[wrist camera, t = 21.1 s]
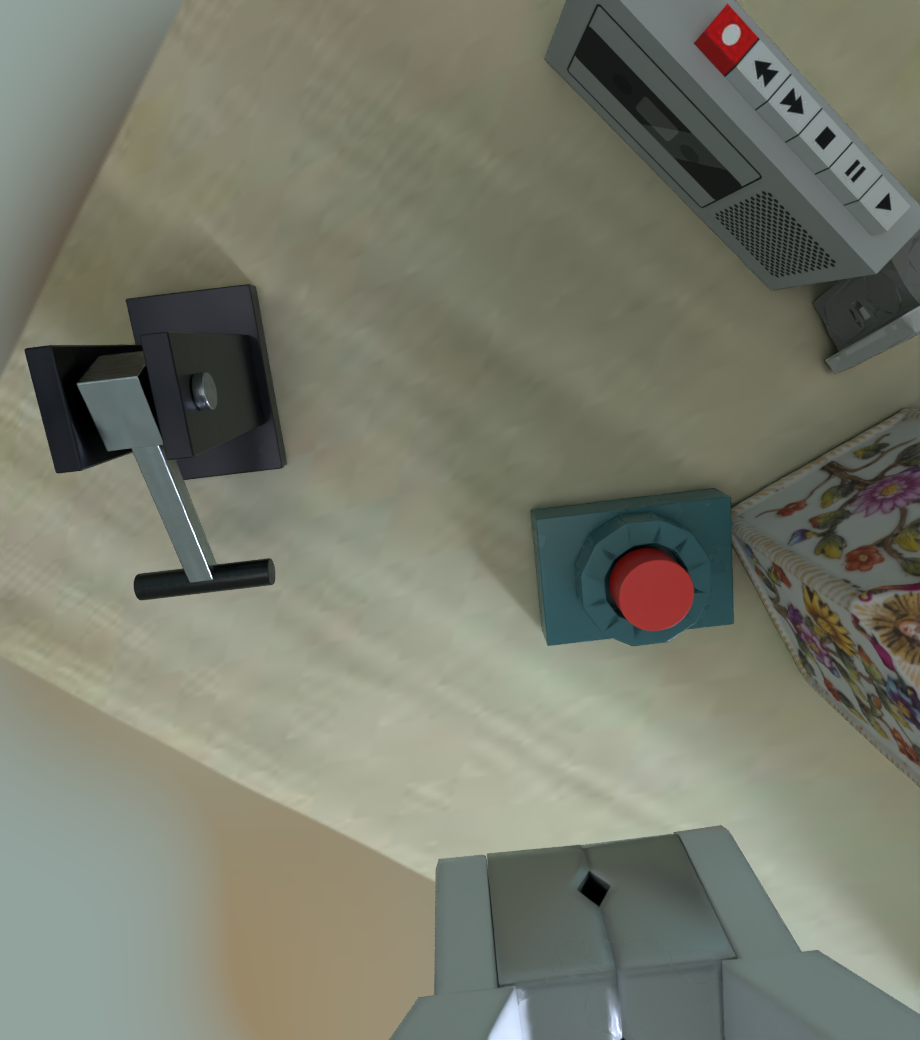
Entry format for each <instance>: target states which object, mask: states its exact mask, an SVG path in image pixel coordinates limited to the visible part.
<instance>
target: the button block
mask: <svg viewBox="0 0 920 1040" xmlns="http://www.w3.org/2000/svg"><path fill="white" fill-rule="evenodd" d="M531 519H532V530H533V540H534V551H535V562H536V572H537V583H538V593H539V604H540V614H541V625H542V631H543V634H544V637H545V640H546V643H547V645H548V646H551V645H559V644H568V643H576V642H585V641H593V640H601V639H610V638H613V639H616V640H618V641H621V642H623V643H626V644H628V645H631V646H639V645H648V644H656V643H665V642H668V641H670V640H671V639H673V638H674V637H676V636H677V635H679V634H680V633H682V632H683V631H685V630H686V629H694V628H702V627H711V626H719V625H728V624H734V615H733V574H732V533H731V497H730V496H728V495H726V494H724V493H723V492H721V491H719V490H717V489H715V488H712V489H704V490H696V491H687V492H679V493H670V494H662V495H654V496H645V497H637V498H629V499H620V500H612V501H603V502H595V503H587V504H578V505H570V506H561V507H553V508H545V509H536V510H531ZM640 548H655V549H659V550H661V551H663V552H665V553H667V554H668V555H670V556H671V557H672V558H673V559H674V560H675V561H676V562H677V563H678V564H679V565H680V566H681V567H683V568H684V569H685V570H686V572H687V573H688V574H689V576H690V577H691V580H692V582H693V586H694V598H693V602H692V606H691V608H690V610H689V611H688V613H687V614H686V616H685V617H684V618H683V619H682V620H681V621H680V622H678V623H677V624H676V625H674V626H672V627H670V628H667V629H664V630H659V631H648V630H643V629H640V628H638V627H636V626H634V625H633V624H631V623H630V622H629V621H628V620H627V619H626V618H625V617H624V615H623V614H622V612H621V611H620V609H619V608H618V606H617V605H616V603H615V602H614V600H613V598H612V596H611V593H610V588H609V581H610V575H611V572H612V570H613V568H614V566H615V565H616V563H617V562H618V561H619V560H620V559H621V558H622V557H623V556H624V555H626V554H627V553H629V552H631V551H633V550H636V549H640Z"/></svg>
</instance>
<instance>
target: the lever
mask: <svg viewBox="0 0 920 1040" xmlns="http://www.w3.org/2000/svg"><path fill="white" fill-rule="evenodd" d="M77 387H78V389H79V391H80V393H81V395H82V398H83V400H84V402H85V404H86V406H87V409H88V411H89V413H90V415H91V417H92V419H93V422H94V424H95V426H96V428H97V430H98V433H99V435H100V437H101V439H102V441H103V443H104V446H105V448H106V450H107V451H114V450H123V449H132V451H133V453H134V456H135V458H136V460H137V463H138V465H139V467H140V470H141V472H142V474H143V477H144V479H145V481H146V483H147V486H148V488H149V490H150V493H151V495H152V497H153V500H154V502H155V504H156V507H157V509H158V511H159V513H160V516H161V518H162V520H163V523H164V525H165V527H166V530H167V532H168V534H169V537H170V539H171V541H172V543H173V546H174V548H175V550H176V553H177V555H178V557H179V560H180V562H181V564H182V567H183V569H176V570H167V571H159V572H150V573H142V574H138V575H136V577H135V579H134V591H135V595H136V597H137V598H138V599H139V600H149V599H158V598H166V597H174V596H183V595H191V594H200V593H208V592H216V591H225V590H233V589H242V588H250V587H258V586H267V585H273V584H274V582H275V567H274V563H273V561H272V559H270V558H268V559H259V560H251V561H243V562H234V563H226V564H216V561H215V558H214V556H213V553H212V551H211V548H210V546H209V543H208V541H207V538H206V536H205V533H204V531H203V528H202V526H201V523H200V520H199V518H198V515H197V513H196V510H195V508H194V505H193V503H192V500H191V498H190V495H189V493H188V490H187V488H186V485H185V482H184V480H183V477H182V475H181V472H180V470H179V467H178V465H177V462H176V460H167V459H166V455H165V450H164V446H163V441H162V436H161V432H160V427H159V423H158V418H157V413H156V409H155V404H154V400H153V395H152V391H151V386H150V381H149V377H148V372H147V368H146V363H145V358H144V354H143V351H138V352H130V353H121V354H113V355H105V356H99V357H98V358H97V359H96V360H95V362H94V363H93V364H92V365H91V367H90V368H89V369H88V370H87V371H86V373H85V374H84V375H83V376H82V378H81V379H80V380H79V381H78V382H77Z"/></svg>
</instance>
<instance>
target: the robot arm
mask: <svg viewBox="0 0 920 1040" xmlns="http://www.w3.org/2000/svg"><path fill="white" fill-rule="evenodd" d="M487 861H488V865H487ZM435 893H436V894H435V895H436V897H435V980H434V982H435V983H434V995H433V996H425V997H419V998H418V999H417V1001H416V1002H415V1003H414V1005H413V1006H412V1008H411V1009H410V1011H409V1012H408V1013H407V1015H406V1016H405V1018H404V1019H403V1021H402V1022H401V1023H400V1025H399V1026H398V1028H397V1029H396V1031H395V1032H394V1033H393V1035H392V1037H391V1038H390V1039H389V1040H920V1014H918V1013H917V1012H915V1011H914V1010H912V1009H910V1008H909V1007H907V1006H906V1005H904V1004H903V1003H901V1002H899V1001H898V1000H896V999H895V998H893V997H891V996H890V995H888V994H887V993H885V992H884V991H882V990H880V989H879V988H877V987H876V986H874V985H872V984H871V983H869V982H868V981H866V980H865V979H863V978H861V977H860V976H858V975H857V974H855V973H853V972H852V971H850V970H849V969H847V968H845V967H844V966H842V965H841V964H839V963H838V962H836V961H834V960H833V959H831V958H830V957H828V956H826V955H825V954H823V953H822V952H820V951H819V950H814V951H805V952H801V950H800V948H799V947H798V945H797V943H796V942H795V940H794V938H793V937H792V935H791V933H790V932H789V930H788V928H787V927H786V925H785V923H784V922H783V920H782V918H781V917H780V915H779V913H778V912H777V910H776V908H775V907H774V905H773V903H772V902H771V900H770V898H769V897H768V895H767V893H766V892H765V890H764V888H763V887H762V885H761V883H760V882H759V880H758V878H757V877H756V875H755V873H754V872H753V870H752V868H751V867H750V865H749V863H748V862H747V860H746V858H745V857H744V855H743V853H742V852H741V850H740V848H739V847H738V845H737V843H736V842H735V840H734V838H733V837H732V835H731V833H730V832H729V830H727V829H726V828H724V827H723V826H721V825H720V826H713V827H706V828H699V829H692V830H685V831H678V832H674V834H666V835H658V836H650V837H642V838H634V839H626V840H618V841H610V842H602V843H594V844H586V845H573V846H563V847H552V848H542V849H531V850H521V851H510V852H499V853H489V854H487V859H486V856H485V855H475V856H465V857H455V858H446V859H439V860H438V864H437V867H436V891H435Z"/></svg>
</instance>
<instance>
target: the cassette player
mask: <svg viewBox="0 0 920 1040" xmlns="http://www.w3.org/2000/svg"><path fill="white" fill-rule="evenodd" d="M545 60H546V61H547V62H548V63H549V64H550V65H551V66H552V67H553V68H554V69H555V70H556V71H557V72H558V73H559V74H560V75H561V76H562V77H563V78H564V79H565V80H566V81H567V82H568V83H569V85H570V86H571V87H572V88H573V89H574V90H575V91H576V92H577V93H578V94H579V95H580V96H581V97H582V98H583V99H584V100H585V101H586V102H587V103H588V104H589V105H590V106H591V107H592V108H593V109H594V110H595V111H596V112H597V113H598V114H599V115H600V116H601V117H602V118H603V119H604V120H605V121H606V122H607V123H608V124H609V125H610V126H611V127H612V128H613V129H614V130H615V131H616V132H617V133H618V134H619V136H620V137H621V138H622V139H623V140H624V141H625V142H626V143H627V144H628V145H629V146H630V147H631V148H632V149H633V150H634V151H635V152H636V153H637V154H638V155H639V156H640V157H641V158H642V159H643V160H644V161H645V162H646V163H647V164H648V165H649V166H650V167H651V168H652V169H653V170H654V171H655V172H656V173H657V174H658V175H659V176H660V177H661V178H662V179H663V180H664V181H665V182H666V183H667V184H668V185H669V187H670V188H671V189H672V190H673V191H674V192H675V193H676V194H677V195H678V196H679V197H680V198H681V199H682V200H683V201H684V202H685V203H686V204H687V205H688V206H689V207H690V208H691V209H692V210H693V211H694V212H695V213H696V214H697V215H698V216H699V217H700V218H701V219H702V220H703V221H704V222H705V223H706V224H707V225H708V226H709V227H710V228H711V229H712V230H713V231H714V232H715V233H716V234H717V235H718V236H719V238H720V239H721V240H722V241H723V242H724V243H725V244H726V245H727V246H728V247H729V248H730V249H731V250H732V251H733V252H734V253H735V254H736V255H737V256H738V257H739V258H740V259H741V260H742V261H743V262H744V263H745V264H746V265H747V266H748V267H749V268H750V269H751V270H752V271H753V272H754V273H755V274H756V275H757V276H758V277H759V278H760V279H761V280H762V281H763V282H764V283H765V284H766V285H767V286H768V287H769V289H770V290H777V289H783V288H789V287H796V286H802V285H809V284H815V283H822V282H828V281H835V280H841V279H848V278H854V277H860V276H867V275H873V274H877V273H878V272H879V271H880V270H881V269H882V268H883V267H884V266H885V264H886V263H887V262H888V261H889V260H890V259H891V258H892V257H893V256H894V255H895V254H896V253H897V252H898V251H899V250H900V249H901V248H902V247H903V246H904V244H905V243H906V242H907V241H908V240H909V239H910V238H911V237H912V236H913V235H914V234H915V233H916V232H917V231H918V230H919V229H920V205H919V204H918V203H917V202H916V201H915V200H914V198H913V197H912V196H911V195H910V194H909V193H908V192H907V191H906V190H905V188H904V187H903V186H902V185H901V184H900V183H899V182H898V181H897V179H896V178H895V177H894V176H893V175H892V174H891V173H890V172H889V171H888V169H887V168H886V167H885V166H884V165H883V164H882V163H881V162H880V161H879V159H878V158H877V157H876V156H875V155H874V154H873V153H872V152H871V151H870V149H869V148H868V147H867V146H866V145H865V144H864V143H863V142H862V141H861V139H860V138H859V137H858V136H857V135H856V134H855V133H854V132H853V131H852V129H851V128H850V127H849V126H848V125H847V124H846V123H845V122H844V121H843V119H842V118H841V117H840V116H839V115H838V114H837V113H836V112H835V111H834V109H833V108H832V107H831V106H830V105H829V104H828V103H827V102H826V101H825V99H824V98H823V97H822V96H821V95H820V94H819V93H818V92H817V91H816V89H815V88H814V87H813V86H812V85H811V84H810V83H809V82H808V81H807V79H806V78H805V77H804V76H803V75H802V74H801V73H800V72H799V71H798V69H797V68H796V67H795V66H794V65H793V64H792V63H791V62H790V61H789V59H788V58H787V57H786V56H785V55H784V54H783V53H782V52H781V51H780V49H779V48H778V47H777V46H776V45H775V44H774V43H773V42H772V41H771V39H770V38H769V37H768V36H767V35H766V34H765V33H764V32H763V31H762V29H761V28H760V27H759V26H758V25H757V24H756V23H755V22H754V21H753V19H752V18H751V17H750V16H749V15H748V14H747V13H746V12H745V11H744V9H743V8H742V7H741V6H740V5H739V4H738V3H737V2H736V0H566V2H565V4H564V7H563V10H562V13H561V15H560V18H559V21H558V24H557V26H556V29H555V32H554V34H553V37H552V40H551V43H550V45H549V48H548V51H547V54H546V56H545Z"/></svg>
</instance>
